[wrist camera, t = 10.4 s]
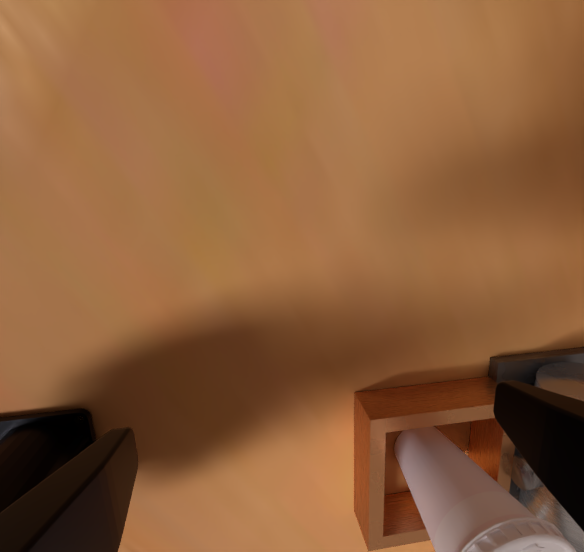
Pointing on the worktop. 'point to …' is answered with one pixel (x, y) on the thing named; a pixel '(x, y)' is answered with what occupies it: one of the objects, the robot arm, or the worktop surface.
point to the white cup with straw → (467, 501)
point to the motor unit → (482, 447)
